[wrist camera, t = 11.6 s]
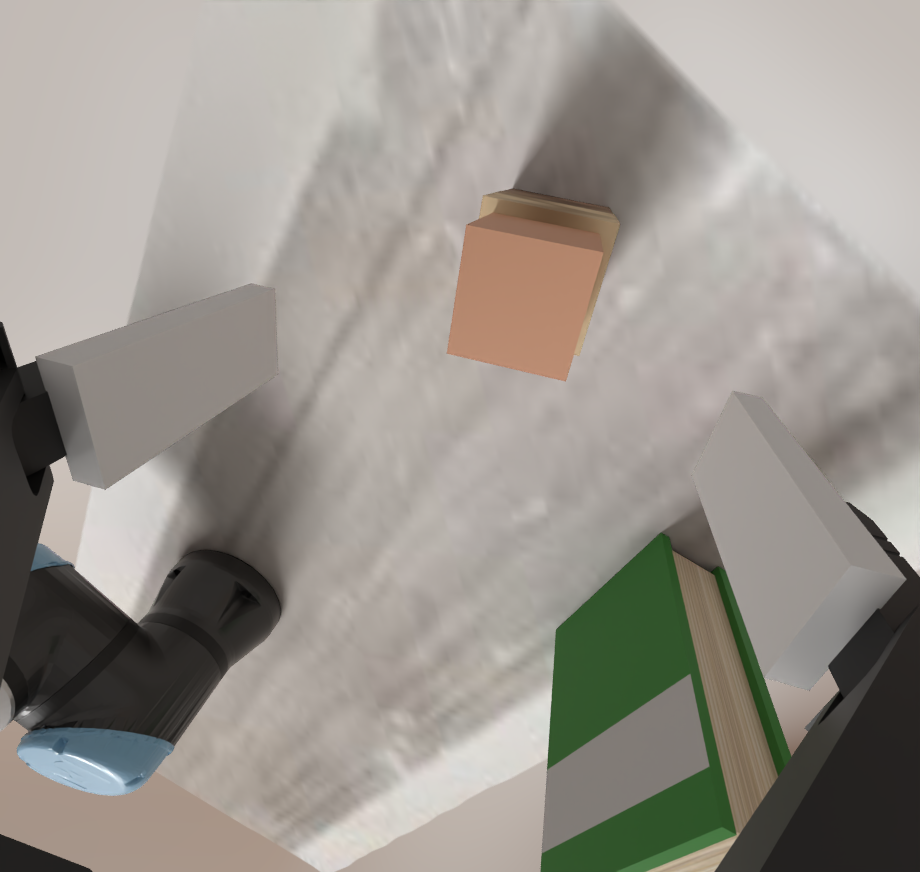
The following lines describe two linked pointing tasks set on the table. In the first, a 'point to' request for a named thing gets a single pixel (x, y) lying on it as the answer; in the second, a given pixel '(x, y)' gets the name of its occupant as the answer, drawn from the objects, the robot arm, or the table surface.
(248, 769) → the table surface
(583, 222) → the oak middle block
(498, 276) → the terracotta block
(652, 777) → the hardback book
